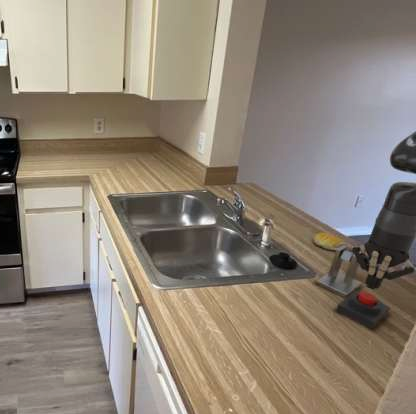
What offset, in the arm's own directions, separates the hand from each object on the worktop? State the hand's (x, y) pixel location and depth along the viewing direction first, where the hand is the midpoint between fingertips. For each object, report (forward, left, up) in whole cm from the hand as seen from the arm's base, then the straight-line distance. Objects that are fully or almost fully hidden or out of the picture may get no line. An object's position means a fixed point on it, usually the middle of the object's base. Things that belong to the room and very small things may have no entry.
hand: (371, 287), depth 84 cm
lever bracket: (-8, -9, -8) cm, 15 cm away
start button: (0, 0, -4) cm, 4 cm away
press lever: (-12, -9, -1) cm, 15 cm away
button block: (0, 0, -8) cm, 8 cm away
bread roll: (-31, -22, -8) cm, 39 cm away
